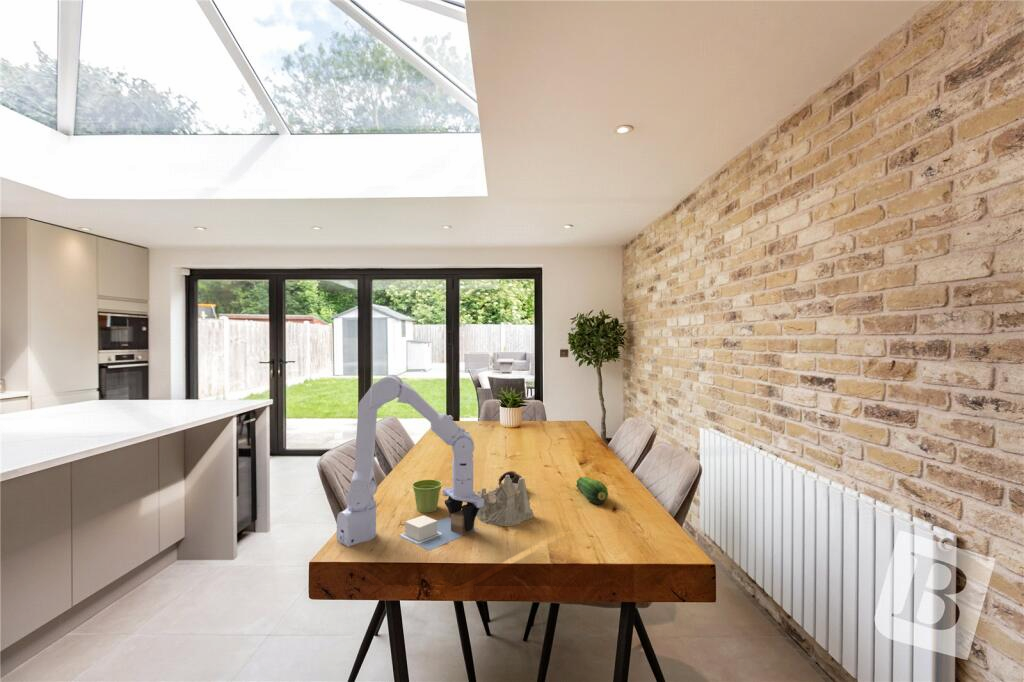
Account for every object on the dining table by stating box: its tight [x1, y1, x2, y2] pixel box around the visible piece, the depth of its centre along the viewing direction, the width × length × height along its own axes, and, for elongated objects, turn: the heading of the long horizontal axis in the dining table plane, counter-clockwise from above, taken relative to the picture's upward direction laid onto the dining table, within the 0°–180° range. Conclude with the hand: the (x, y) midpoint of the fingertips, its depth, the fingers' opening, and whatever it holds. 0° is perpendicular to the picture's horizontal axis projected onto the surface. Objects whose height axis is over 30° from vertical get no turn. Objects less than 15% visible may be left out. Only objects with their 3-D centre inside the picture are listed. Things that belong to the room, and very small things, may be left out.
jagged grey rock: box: [476, 475, 535, 527], centre depth 131 cm, size 16×16×15 cm
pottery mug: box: [498, 470, 528, 493], centre depth 156 cm, size 12×10×8 cm
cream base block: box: [404, 514, 438, 541], centre depth 117 cm, size 6×6×4 cm
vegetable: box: [575, 476, 609, 505], centre depth 150 cm, size 7×7×20 cm
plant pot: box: [411, 478, 443, 513], centre depth 136 cm, size 9×9×9 cm
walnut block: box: [450, 509, 475, 536], centre depth 119 cm, size 4×4×4 cm
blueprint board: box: [398, 516, 478, 551], centre depth 118 cm, size 17×13×1 cm
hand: (462, 527), depth 119 cm, fingers closed on walnut block, 4 cm apart
